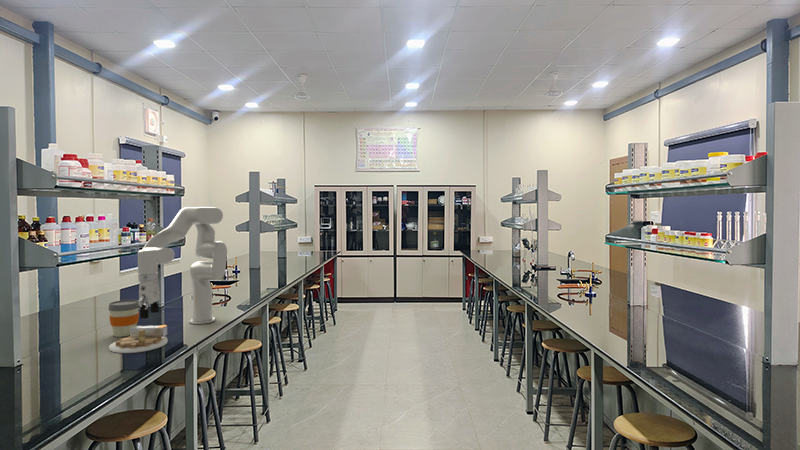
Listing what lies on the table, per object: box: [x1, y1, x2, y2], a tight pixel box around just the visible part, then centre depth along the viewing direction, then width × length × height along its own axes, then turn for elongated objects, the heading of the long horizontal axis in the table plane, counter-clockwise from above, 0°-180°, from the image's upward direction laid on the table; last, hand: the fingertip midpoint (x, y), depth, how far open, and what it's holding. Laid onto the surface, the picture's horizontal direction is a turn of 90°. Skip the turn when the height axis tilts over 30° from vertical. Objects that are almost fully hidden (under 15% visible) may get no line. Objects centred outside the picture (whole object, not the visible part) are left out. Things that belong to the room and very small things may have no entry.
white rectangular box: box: [130, 324, 168, 337], centre depth 200 cm, size 4×14×4 cm, turn 95°
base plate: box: [108, 336, 168, 354], centre depth 196 cm, size 22×22×2 cm
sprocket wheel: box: [115, 330, 162, 348], centre depth 195 cm, size 17×17×6 cm
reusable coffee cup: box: [108, 299, 140, 338], centre depth 212 cm, size 13×13×15 cm
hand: (149, 315), depth 201 cm, fingers open, 9 cm apart
